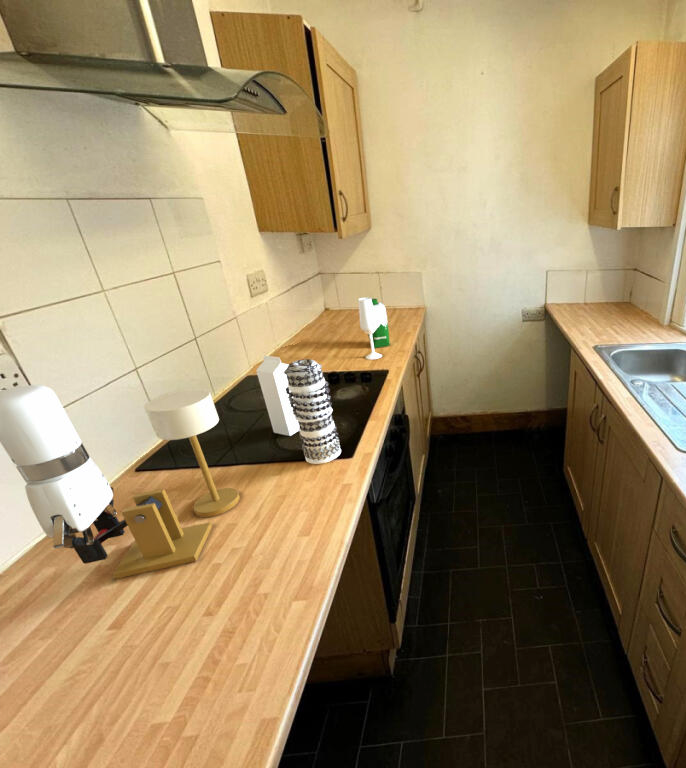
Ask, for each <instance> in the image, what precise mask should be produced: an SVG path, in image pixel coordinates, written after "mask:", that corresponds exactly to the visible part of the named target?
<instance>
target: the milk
mask: <svg viewBox="0 0 686 768" xmlns="http://www.w3.org/2000/svg"><path fill="white" fill-rule="evenodd" d="M262 358H263V361H262V362H261V364H260V365H259V366H258V367H257V369H256V370H255V371H256V375H257V379H258V383H259V385H260V388H261V392H262V395H263V399H264V402H265V407H266V410H267V413H268V417H269V421H270V424H271V428H272V432H273V433H274V434H279V435H283V436H288V437H292V436H293V435H294V434H296V433H297V432H300V431H299V423H298V421H297V420H296V419H295V415H294V414H293V411H292V410H293V408H292V407H291V406H290V405H291V404H290V401H289V399H288V396H289V394H287V393H286V388H287V387H288V380H287V376H286V374H284V371H285V369H287V367H288V365H289V364H290V363H289V364H288V363H284V362H282V360H281V358H280V357H278V356H272V355H262ZM289 391H290V390H289ZM292 398H293V397H292ZM293 405H294V404H293ZM294 406H295V405H294Z"/></svg>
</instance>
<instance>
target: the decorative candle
mask: <svg viewBox="0 0 686 768" xmlns="http://www.w3.org/2000/svg"><path fill="white" fill-rule="evenodd" d="M322 368H323V365H322V364H321V363H318V362H317V361H316V360H314V359H311V358H306V359H305V358H304V359H303V358H302V359H297V360H294V361H292V362H290V363H289V365H288V367H287V369H285V371H284V374H286V376H287V380H288V387H287V388H286V393H287V394H289V396H288V399H289V401H290V404H291V405H290V406H291V407H292V408H293V410H292V411H293V414H294V415H295V419H296V420H297V421H298V423H299V431H298V432H299V435H298V436H299V439H300V443H301V445H302V448H301V449H302V451H303V456H304V458H305V461H306V462H307V463H309V464H311V465H321V464H326V463H329V462H331V461H333V460H336V459H337V458H338V457H339V456H340V455H341V453H342V449H341V445H340V439H339V437H338V435H339V433H338V430H337V429H338V428H337V426H336V425H335V421H334V419H333V415H332V413H333V411H334V410H333V408H332V405H333V403H332V401H331V399H332V397H331V395H330V394H329V393H330V391H331V390H330V388H329V386H330V383H329V382H328V381H326V379H325V377H324V373H323V370H322ZM289 390H290V391H289ZM292 397H293V398H292ZM293 404H294V405H295V406H294V405H293Z"/></svg>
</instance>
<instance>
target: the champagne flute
mask: <svg viewBox="0 0 686 768" xmlns="http://www.w3.org/2000/svg"><path fill="white" fill-rule="evenodd" d="M371 299H372V297H361V298H358V300H357V301H358V314H359V328H360V329H361V331H362V332H364V333H365V334H367V335H368V334H369V337H368V339H369V338H370V340H369V343H370V350H371V351H370V353H369V354H368V355H366V356H365V359H367V360H377V359H381V358H382V357H383V354H381V353H378V352H376V351H375V348H374V344H373V338H372V334H373V333H374V332H375V330H376V329H377V327H378V324H377V320H376V316H375V312H374V308H373V304H372V300H371Z"/></svg>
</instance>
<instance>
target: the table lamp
mask: <svg viewBox="0 0 686 768" xmlns="http://www.w3.org/2000/svg"><path fill="white" fill-rule="evenodd" d="M144 410H145V413H146V414H147V417H148V419H149V422H150V424H151V427H152V429H153V431H154V433H155V436H156V438H157V439H159V440H161V441H162V440H163V441H177V440H184V439H187V438H188V439H189V442H190V445H191V446H192V450H193V453H194V455H195V459H196V461H197V463H198V466H199V468H200V472H201V473H202V476H203V479H204V482H205V484H206V486H207V489H208V493H205V494H204V495H201V497H199V498H198V499H197V500H196V501H195V502H194V504H193V511H194V513H195V515H196V516H198V517H201V518H210V517H211V518H212V517H215V516H216V517H217V516H218V515H221V514H225V513H226V512H228V511H229V510H231V509H233V508H234V507H235V506H236V505H237V504H238V502H239V501H240V494H239V491H238V489H235V488H234V487H222V488H218V489H217V488H216V485H215V482H214V480H213V476H212V474H211V471H210V469H209V466H208V463H207V460H206V458H205V456H204V452H203V449H202V448H201V445H200V442H199V439H198V437H197V436H198V435H200V434H203V433H205V432H207V431H209V430H211V429H212V428H214V427H215V426H217V424H218V423H219V421H220V418H219V415H218V412H217V408H216V405H215V403H214V399H213V398H212V395H211V391H210V390H209V389H208V388H207V389H206V388H201V387H199V388H198V387H193V388H185V389H178V390H175V391H171V392H167V393H164V394H161V395H159V396H156V397H154V398H153V399H150V400H148V401H147V402H146V403H145V405H144Z"/></svg>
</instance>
